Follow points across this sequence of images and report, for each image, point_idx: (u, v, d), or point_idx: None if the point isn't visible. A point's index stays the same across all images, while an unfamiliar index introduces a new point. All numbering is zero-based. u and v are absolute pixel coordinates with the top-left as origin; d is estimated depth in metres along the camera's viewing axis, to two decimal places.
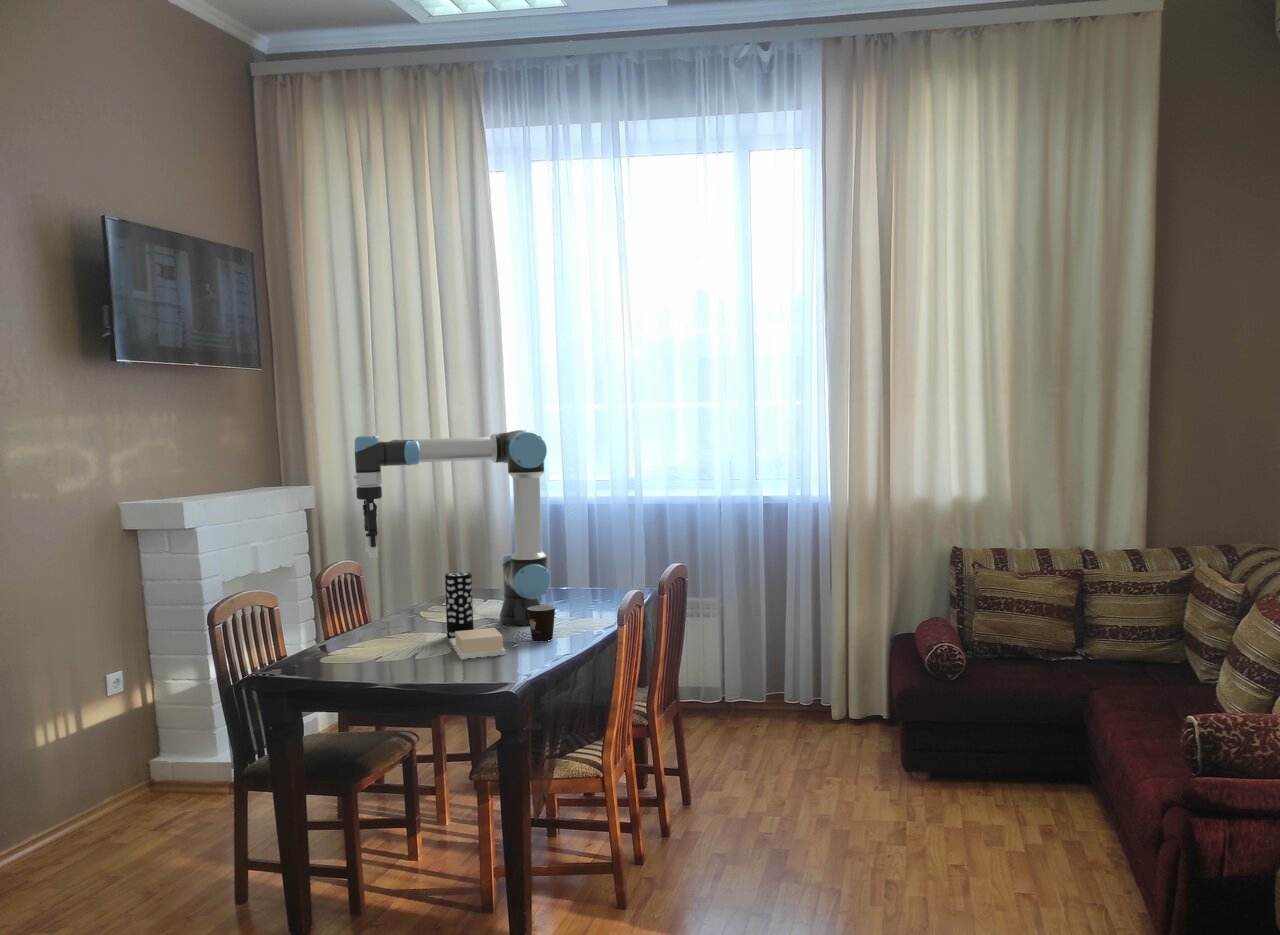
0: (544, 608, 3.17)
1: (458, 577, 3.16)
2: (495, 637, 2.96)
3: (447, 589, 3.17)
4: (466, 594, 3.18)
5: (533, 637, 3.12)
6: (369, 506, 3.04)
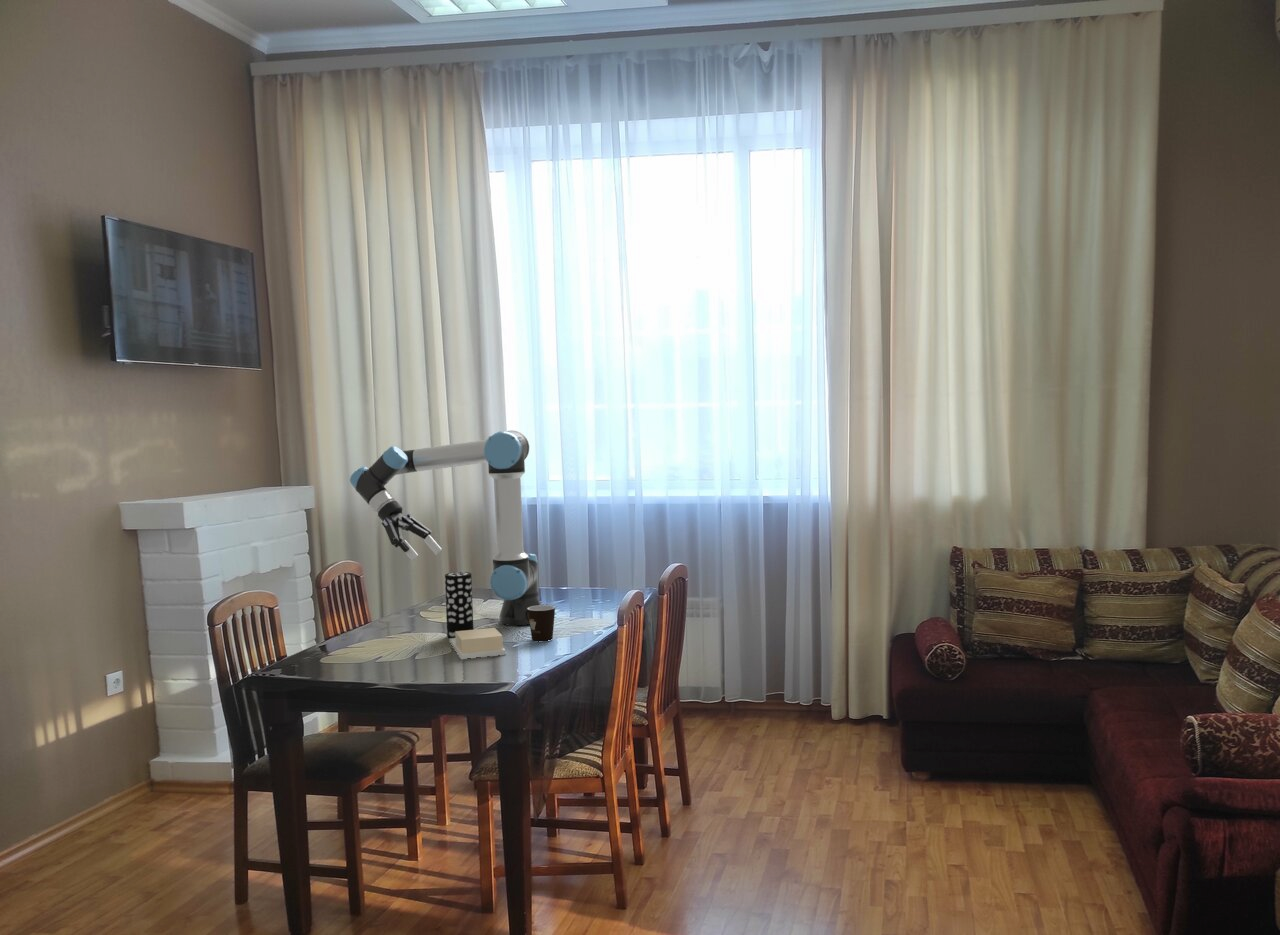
0: (544, 608, 3.17)
1: (458, 577, 3.16)
2: (495, 637, 2.96)
3: (447, 589, 3.17)
4: (466, 594, 3.18)
5: (533, 637, 3.12)
6: (383, 523, 3.21)
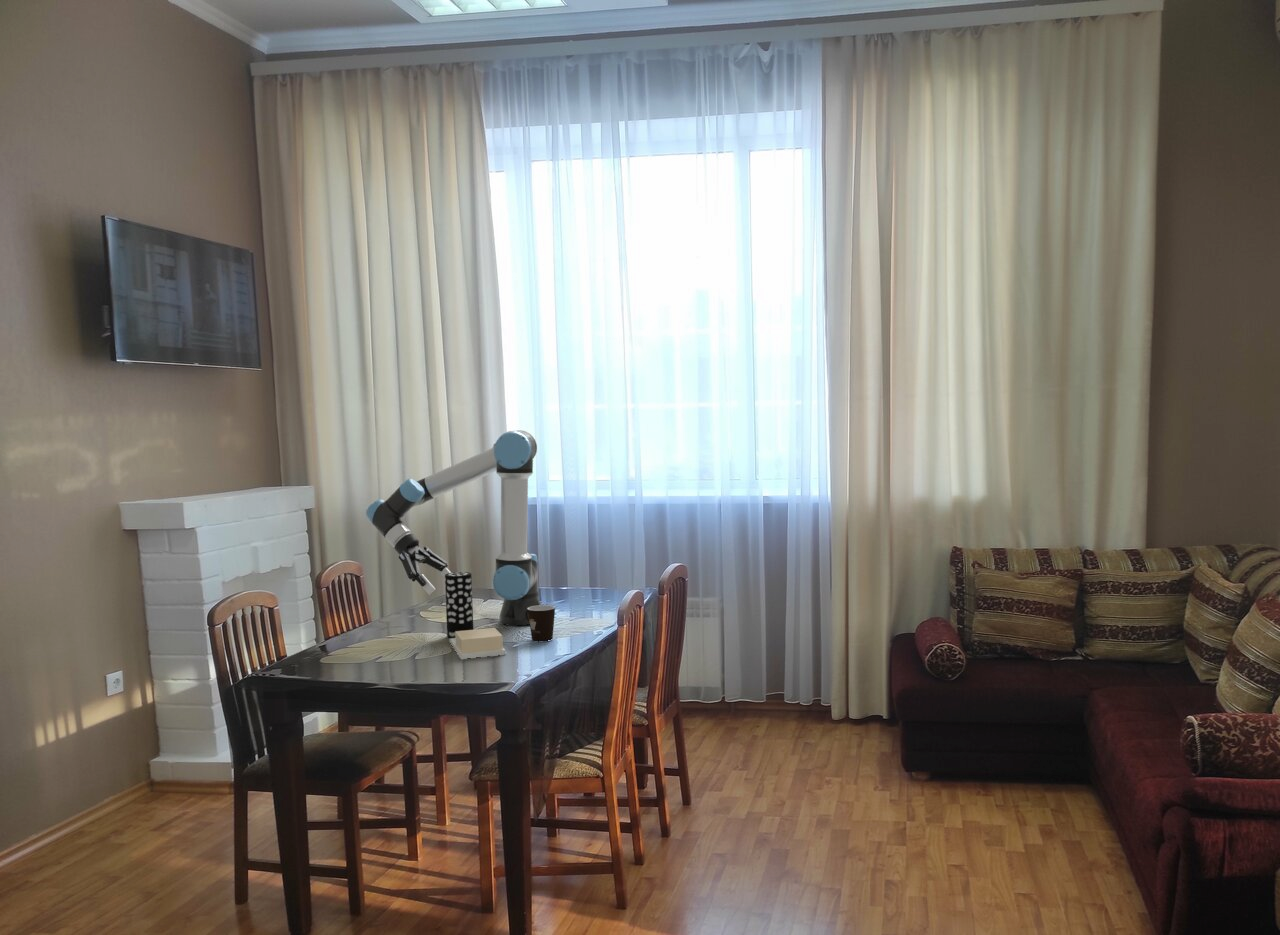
0: (544, 608, 3.17)
1: (458, 577, 3.16)
2: (495, 637, 2.96)
3: (447, 589, 3.17)
4: (466, 594, 3.18)
5: (533, 637, 3.12)
6: (400, 557, 3.19)
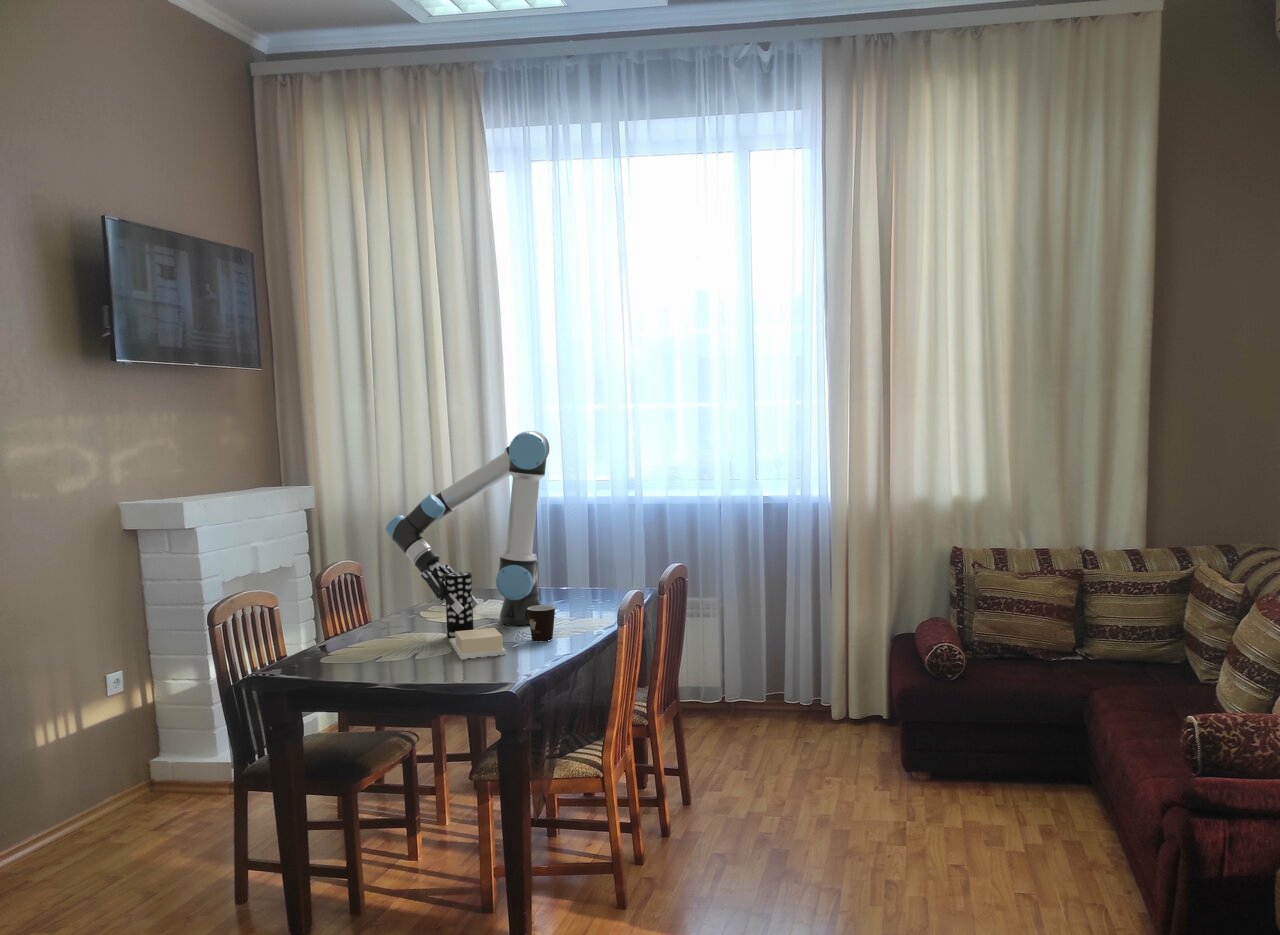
0: (544, 608, 3.17)
1: (458, 577, 3.16)
2: (495, 637, 2.96)
3: (447, 589, 3.17)
4: (466, 594, 3.18)
5: (533, 637, 3.12)
6: (423, 576, 3.17)
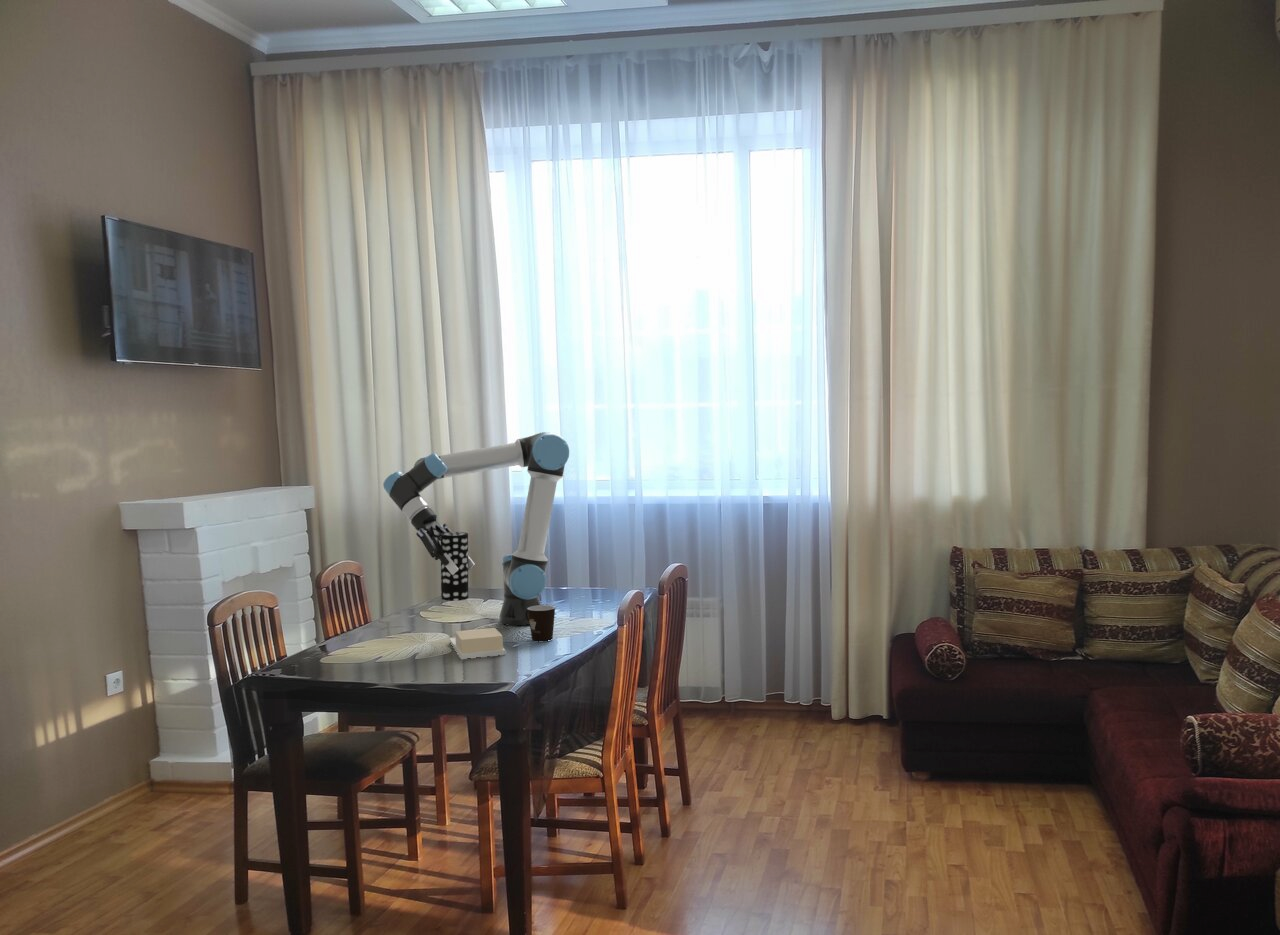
0: (544, 608, 3.17)
1: (454, 537, 3.06)
2: (495, 637, 2.96)
3: (442, 549, 3.08)
4: (461, 555, 3.08)
5: (533, 637, 3.12)
6: (418, 534, 3.07)
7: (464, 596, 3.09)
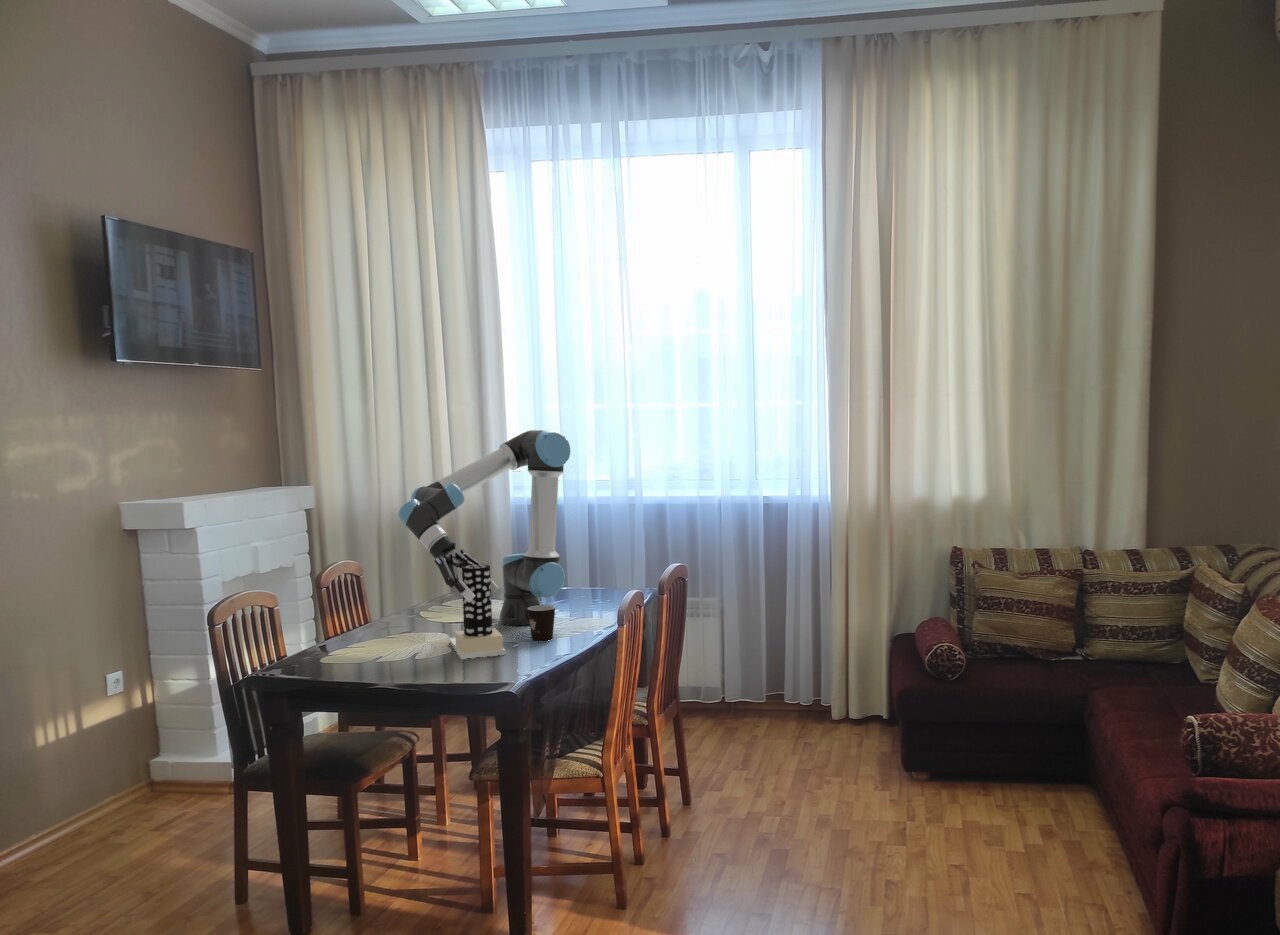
0: (544, 608, 3.17)
1: (476, 569, 2.95)
2: (495, 637, 2.96)
3: None
4: (484, 588, 2.96)
5: (533, 637, 3.12)
6: (436, 561, 2.96)
7: (488, 631, 2.98)
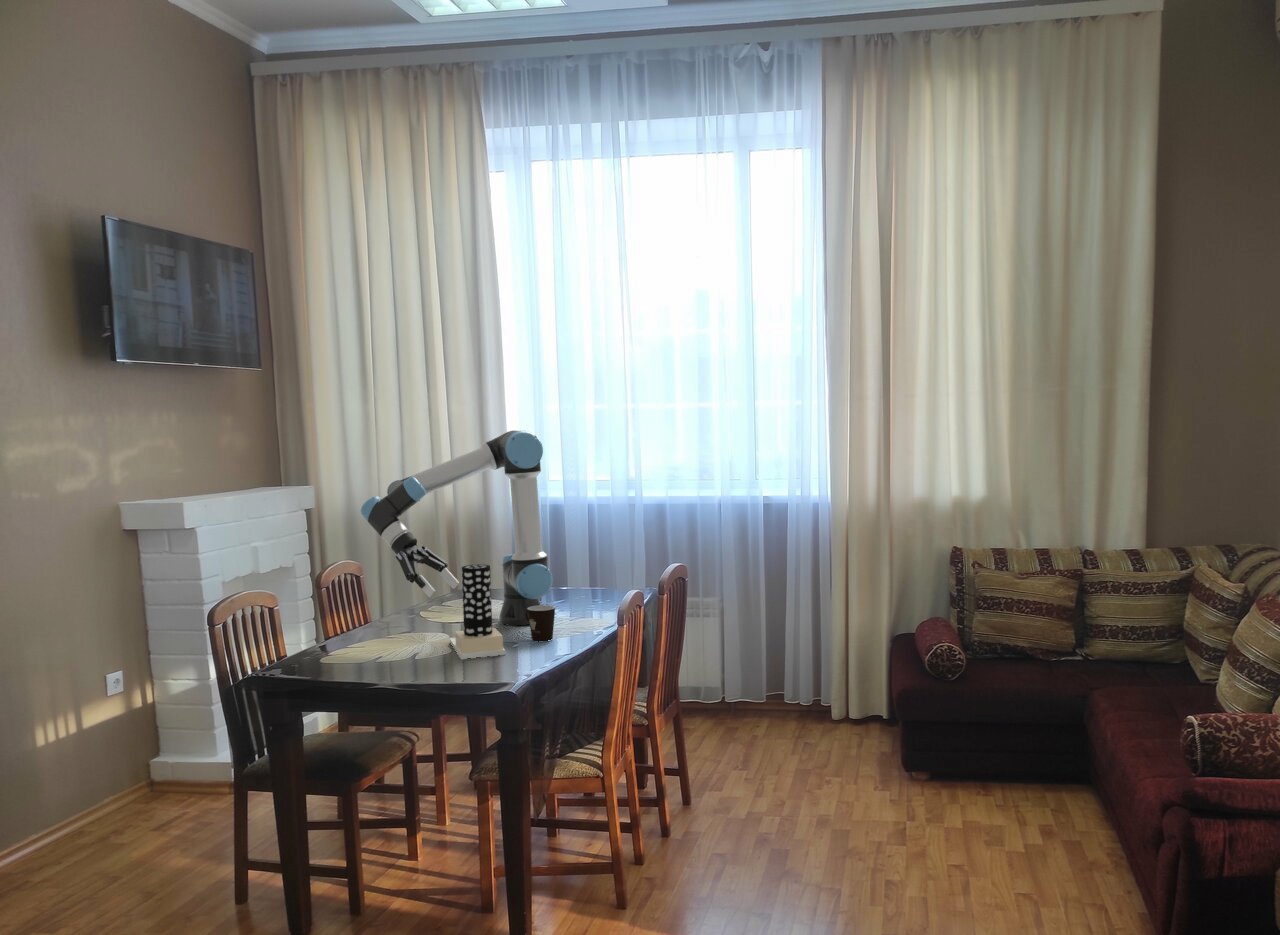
0: (544, 608, 3.17)
1: (476, 570, 2.95)
2: (495, 637, 2.96)
3: (464, 583, 2.96)
4: (484, 588, 2.96)
5: (533, 637, 3.12)
6: (398, 557, 3.01)
7: (488, 631, 2.98)
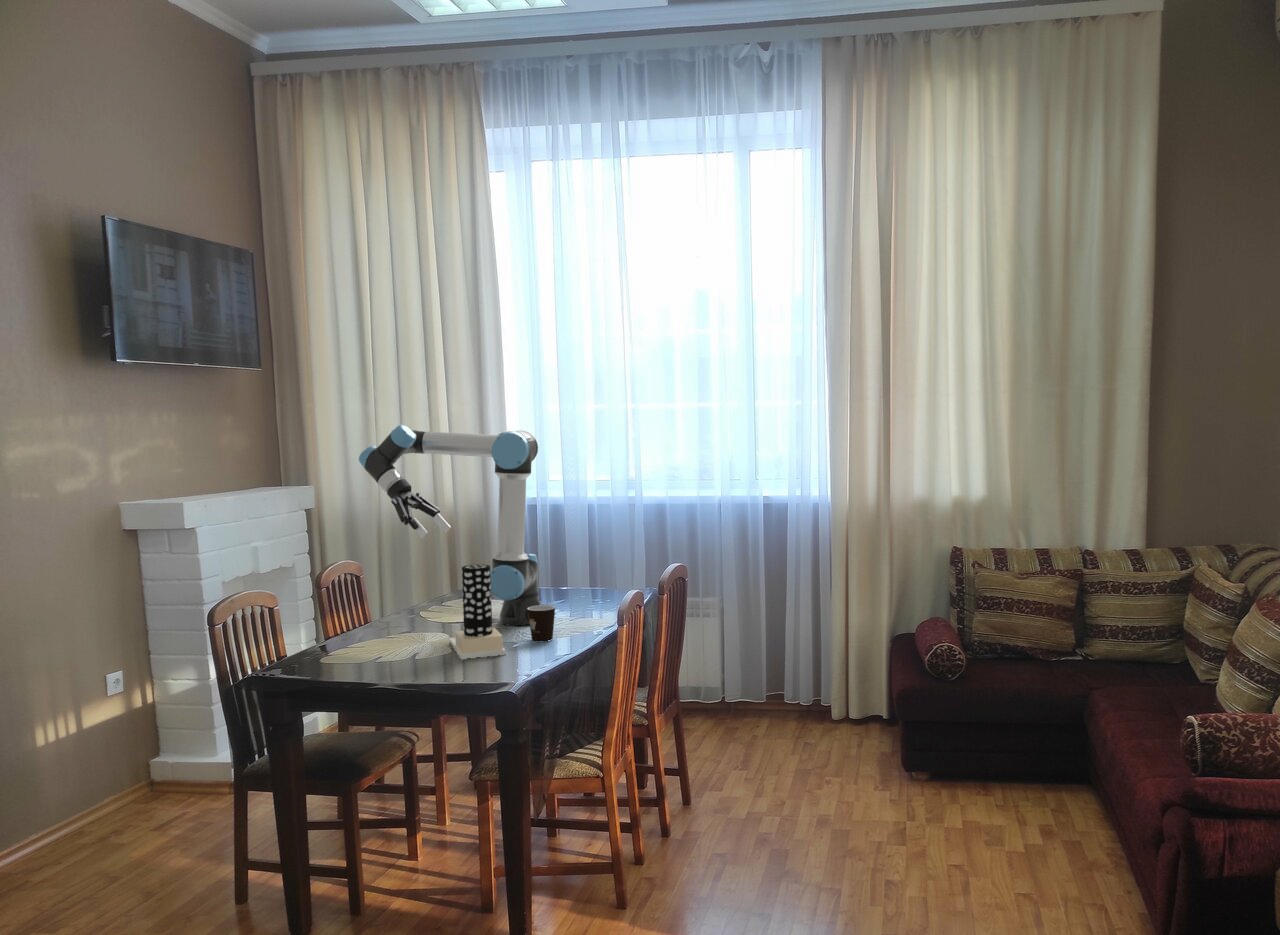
0: (544, 608, 3.17)
1: (476, 570, 2.95)
2: (495, 637, 2.96)
3: (465, 583, 2.96)
4: (484, 588, 2.96)
5: (533, 637, 3.12)
6: (393, 501, 3.22)
7: (488, 631, 2.98)
